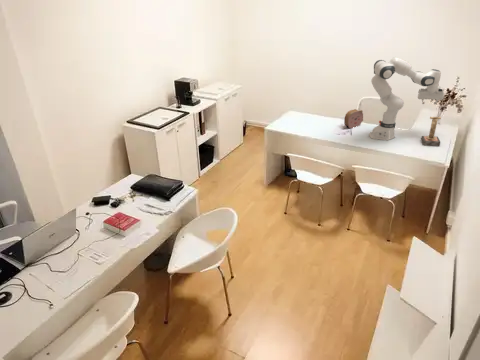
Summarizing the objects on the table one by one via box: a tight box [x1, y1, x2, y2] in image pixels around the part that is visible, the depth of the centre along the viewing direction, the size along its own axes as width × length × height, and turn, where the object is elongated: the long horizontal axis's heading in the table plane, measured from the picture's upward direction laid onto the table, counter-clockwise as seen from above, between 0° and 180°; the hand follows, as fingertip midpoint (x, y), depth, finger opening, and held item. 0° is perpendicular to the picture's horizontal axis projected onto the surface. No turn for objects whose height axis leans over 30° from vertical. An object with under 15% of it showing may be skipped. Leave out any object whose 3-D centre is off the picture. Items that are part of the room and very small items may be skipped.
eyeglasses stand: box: [426, 116, 441, 140], centre depth 305 cm, size 8×7×20 cm
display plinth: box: [420, 135, 441, 147], centre depth 311 cm, size 13×12×4 cm
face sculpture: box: [343, 108, 364, 129], centre depth 352 cm, size 20×7×17 cm, turn 119°
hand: (429, 104), depth 314 cm, fingers open, 8 cm apart
